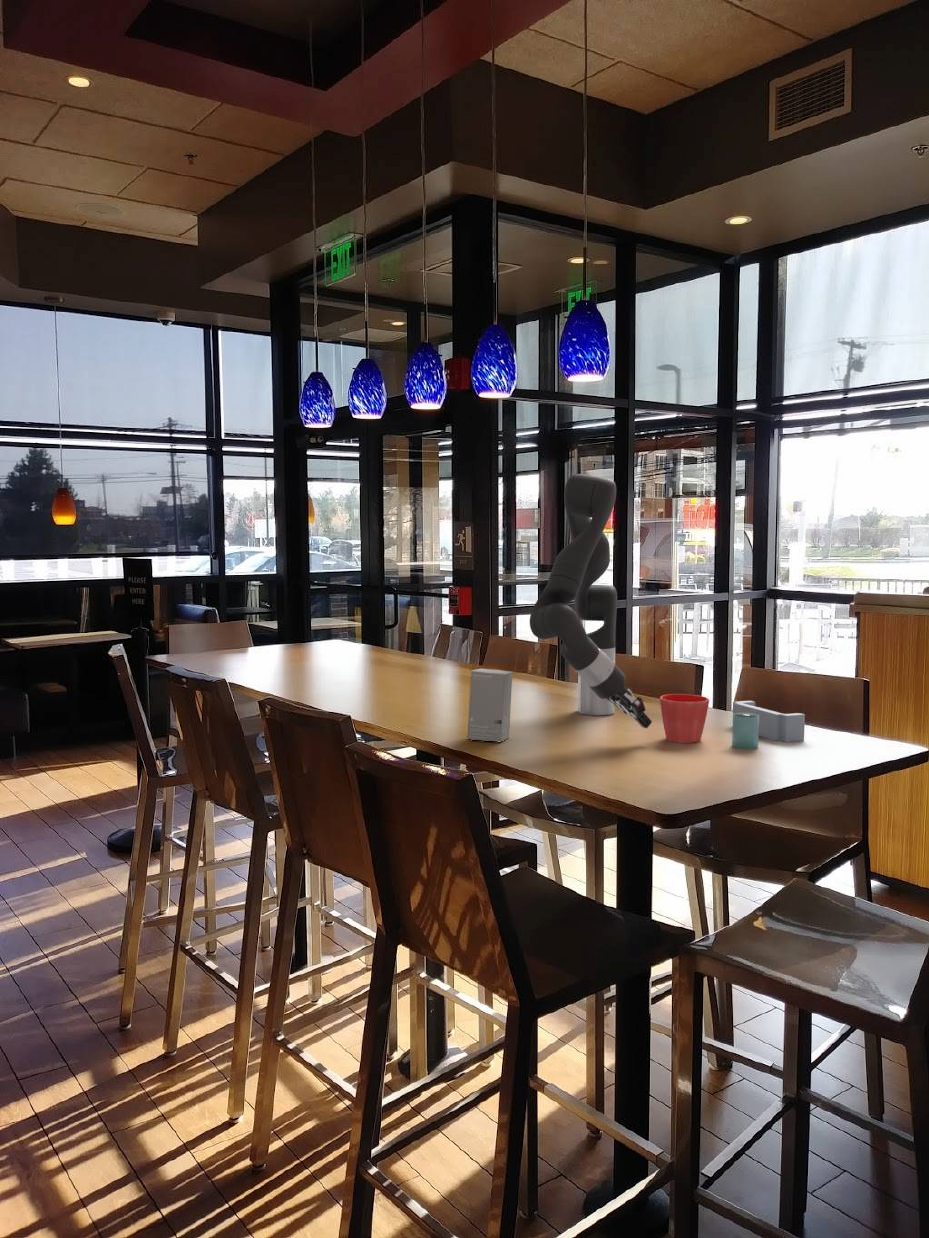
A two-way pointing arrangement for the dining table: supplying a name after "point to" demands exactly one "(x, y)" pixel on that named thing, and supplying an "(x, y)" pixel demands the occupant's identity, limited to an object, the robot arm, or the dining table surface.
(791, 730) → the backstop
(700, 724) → the flower pot
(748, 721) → the tumbler
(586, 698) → the robot arm
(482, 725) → the skincare box
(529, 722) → the dining table surface
